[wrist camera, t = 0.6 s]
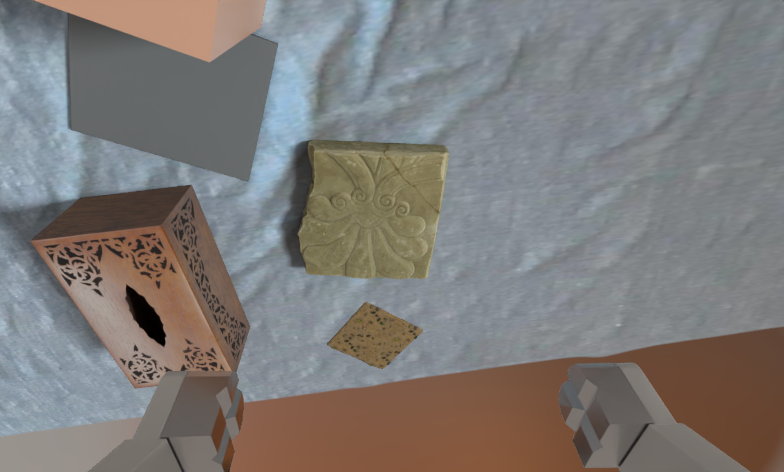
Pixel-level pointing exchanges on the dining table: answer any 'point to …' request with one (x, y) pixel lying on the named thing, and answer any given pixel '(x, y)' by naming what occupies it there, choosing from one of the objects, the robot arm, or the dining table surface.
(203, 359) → the tissue box cover
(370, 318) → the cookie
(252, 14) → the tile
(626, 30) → the dining table surface
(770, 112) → the dining table surface
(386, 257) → the decorative tile
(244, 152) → the slate mat
